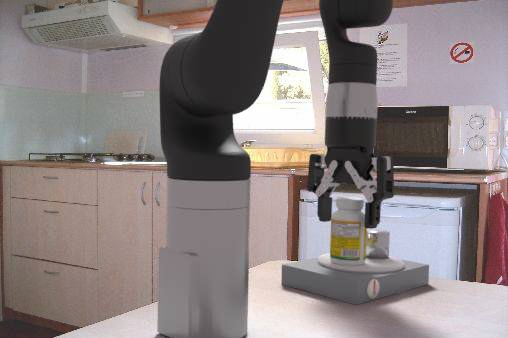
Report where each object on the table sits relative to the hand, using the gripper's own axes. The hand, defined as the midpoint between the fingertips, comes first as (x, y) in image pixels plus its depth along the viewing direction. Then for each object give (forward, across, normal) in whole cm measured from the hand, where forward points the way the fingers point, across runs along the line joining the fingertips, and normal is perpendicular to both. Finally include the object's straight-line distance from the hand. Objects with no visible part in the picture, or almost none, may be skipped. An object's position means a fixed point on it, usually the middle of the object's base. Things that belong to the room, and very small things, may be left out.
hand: (347, 224), depth 86 cm
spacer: (+6, 0, -7) cm, 9 cm away
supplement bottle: (+6, 0, 0) cm, 6 cm away
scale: (+9, 0, -2) cm, 9 cm away
